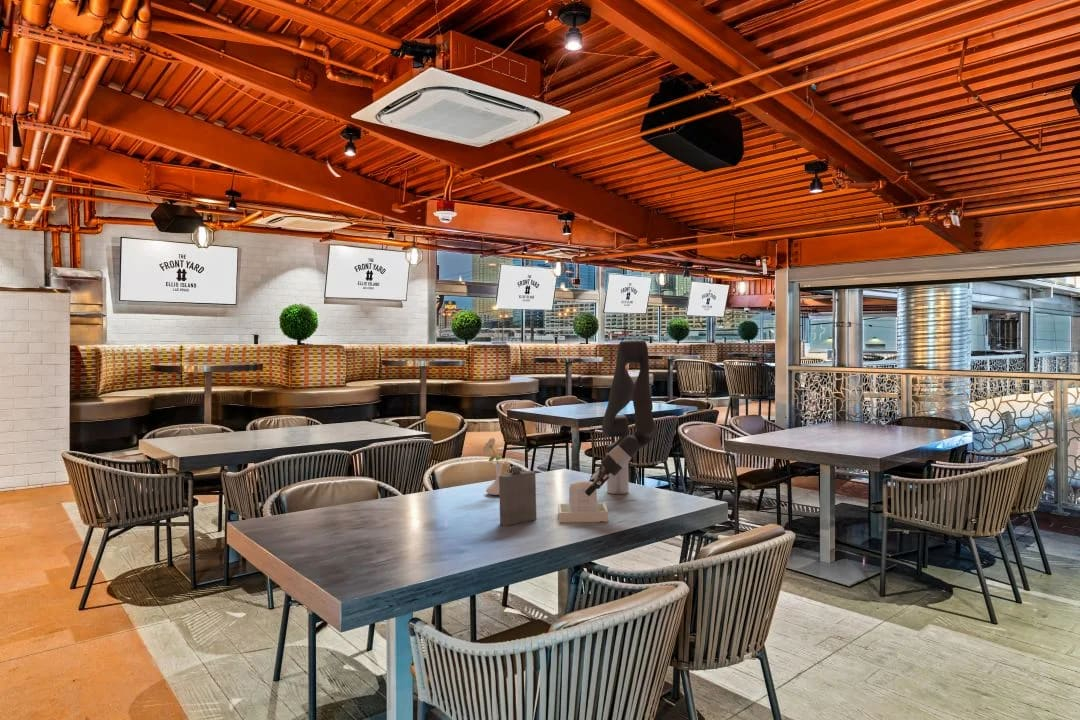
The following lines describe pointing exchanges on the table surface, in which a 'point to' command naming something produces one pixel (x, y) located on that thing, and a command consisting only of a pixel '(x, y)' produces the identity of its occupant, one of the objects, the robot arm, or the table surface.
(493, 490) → the flower in vase
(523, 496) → the flask
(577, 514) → the trough
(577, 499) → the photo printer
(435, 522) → the table surface
